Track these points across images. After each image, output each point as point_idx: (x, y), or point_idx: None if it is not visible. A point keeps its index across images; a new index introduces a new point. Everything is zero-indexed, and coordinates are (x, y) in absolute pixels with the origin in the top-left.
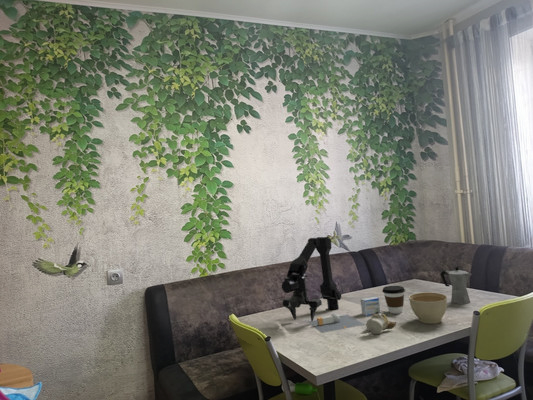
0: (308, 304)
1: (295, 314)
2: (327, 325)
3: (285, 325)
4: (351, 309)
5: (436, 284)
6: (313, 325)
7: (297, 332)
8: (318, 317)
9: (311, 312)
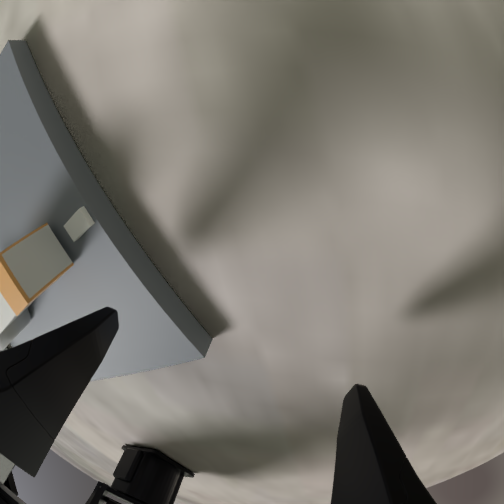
0: (10, 499)
1: (343, 452)
2: (14, 228)
3: (453, 332)
4: (98, 438)
5: (53, 450)
6: (88, 221)
7: (277, 55)
8: (20, 304)
9: (15, 365)
